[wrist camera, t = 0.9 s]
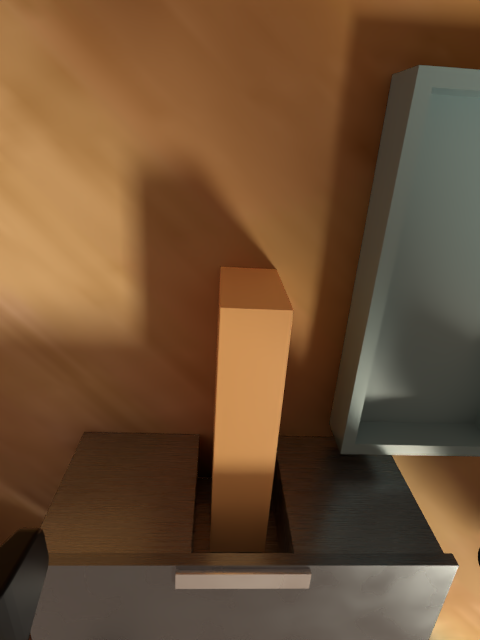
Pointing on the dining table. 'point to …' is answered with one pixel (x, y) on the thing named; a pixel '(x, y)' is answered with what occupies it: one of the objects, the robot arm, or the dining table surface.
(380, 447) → the tray
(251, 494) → the orange-brown rectangular block
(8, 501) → the dining table surface
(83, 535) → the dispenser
